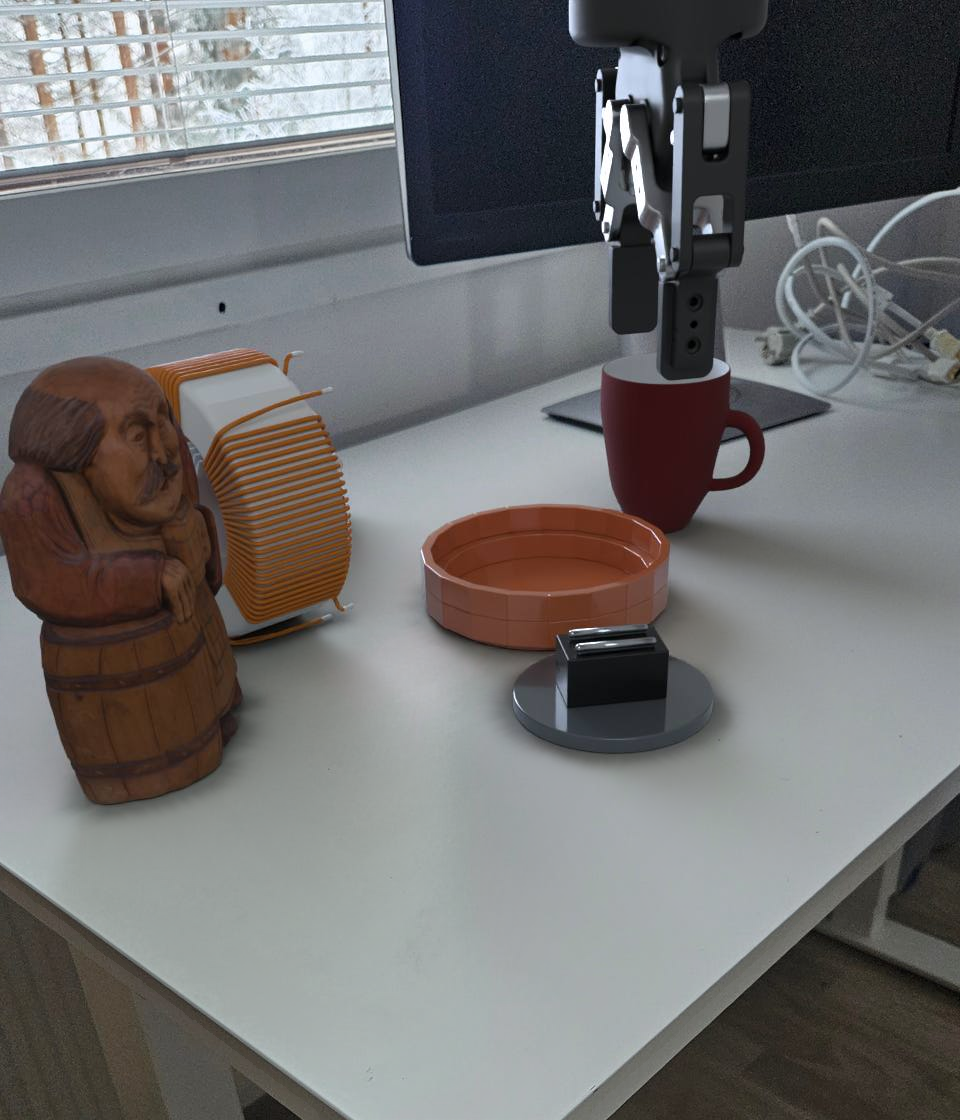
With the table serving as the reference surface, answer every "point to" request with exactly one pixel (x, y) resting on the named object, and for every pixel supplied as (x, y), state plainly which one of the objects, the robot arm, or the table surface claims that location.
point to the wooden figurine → (119, 579)
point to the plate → (613, 712)
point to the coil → (263, 487)
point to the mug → (669, 438)
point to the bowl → (543, 573)
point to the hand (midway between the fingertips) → (656, 353)
